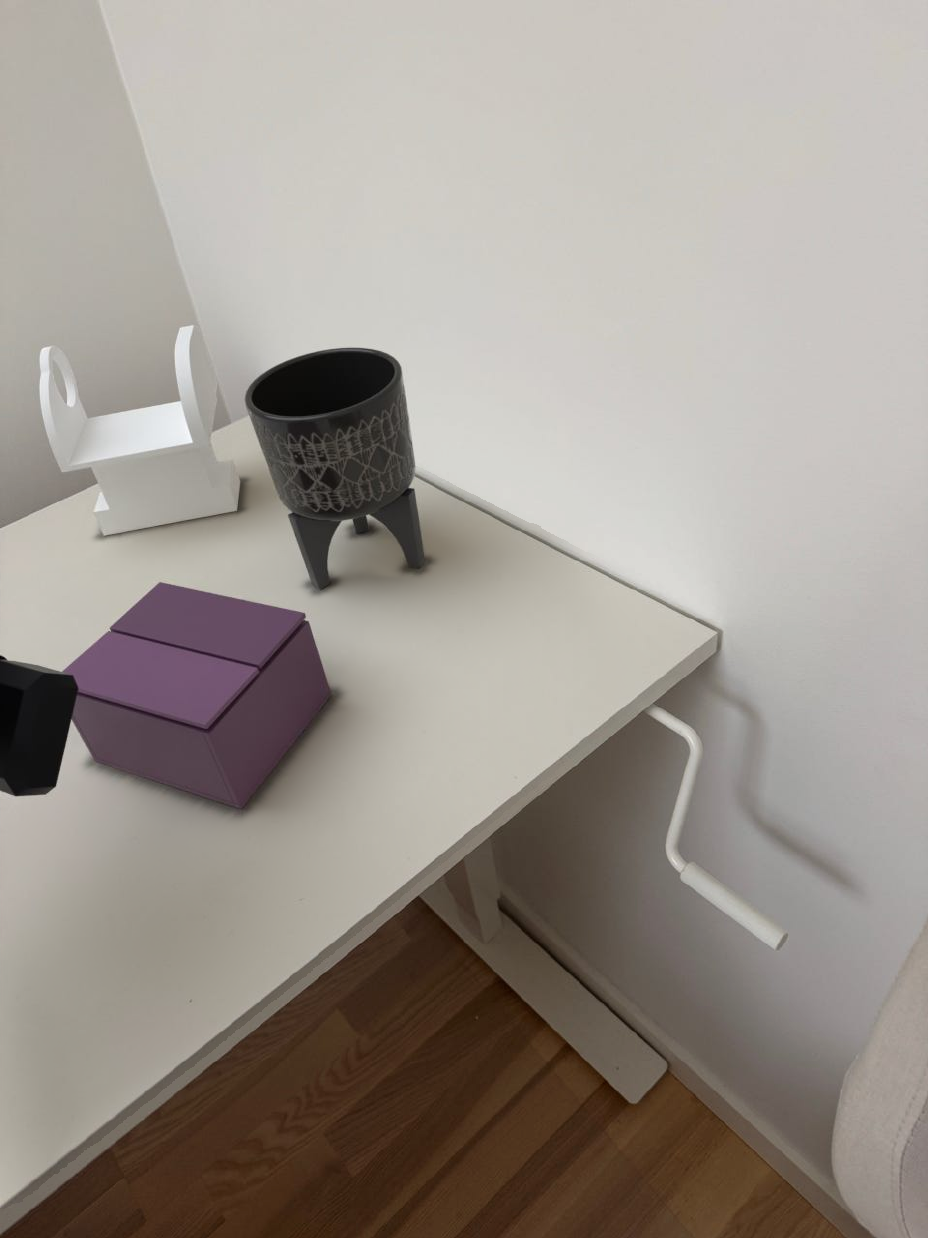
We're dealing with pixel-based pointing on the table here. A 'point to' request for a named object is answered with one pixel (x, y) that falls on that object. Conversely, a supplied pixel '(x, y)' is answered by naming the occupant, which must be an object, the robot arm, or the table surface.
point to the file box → (247, 729)
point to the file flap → (160, 678)
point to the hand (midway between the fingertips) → (51, 703)
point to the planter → (338, 448)
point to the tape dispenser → (145, 445)
